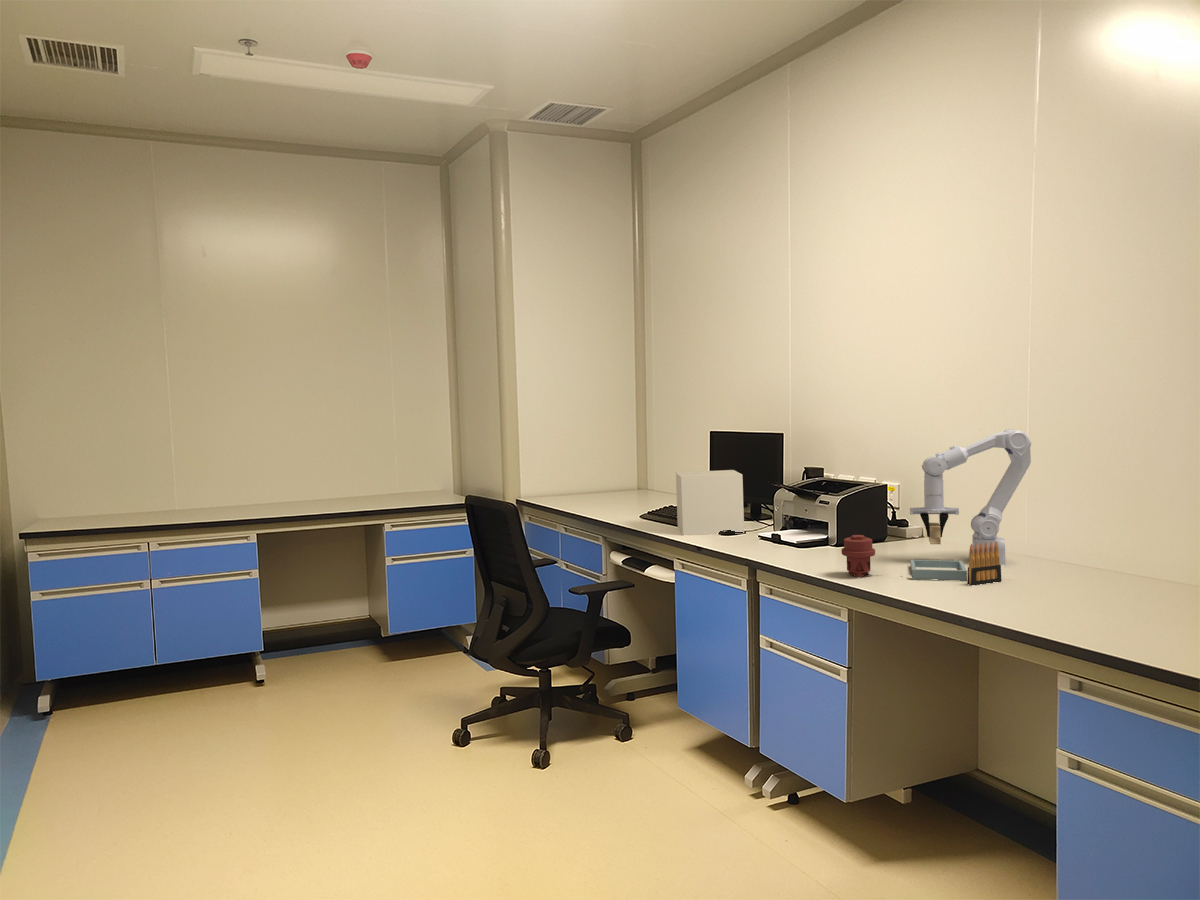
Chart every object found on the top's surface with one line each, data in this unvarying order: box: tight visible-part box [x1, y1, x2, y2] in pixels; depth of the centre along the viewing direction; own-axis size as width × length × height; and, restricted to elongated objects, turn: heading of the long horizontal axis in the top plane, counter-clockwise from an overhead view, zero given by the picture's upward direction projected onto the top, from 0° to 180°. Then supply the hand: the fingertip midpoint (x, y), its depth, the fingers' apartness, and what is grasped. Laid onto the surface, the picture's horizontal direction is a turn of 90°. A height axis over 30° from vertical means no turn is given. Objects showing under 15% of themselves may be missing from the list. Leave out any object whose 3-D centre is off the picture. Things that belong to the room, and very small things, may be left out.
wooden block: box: [928, 522, 942, 545], centre depth 274 cm, size 3×9×6 cm, turn 162°
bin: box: [910, 559, 968, 582], centre depth 261 cm, size 15×15×3 cm
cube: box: [675, 469, 745, 537], centre depth 360 cm, size 25×21×24 cm
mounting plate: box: [913, 558, 955, 561], centre depth 275 cm, size 12×10×1 cm
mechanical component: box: [840, 534, 876, 578], centre depth 265 cm, size 12×10×10 cm
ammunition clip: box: [966, 541, 1002, 586], centre depth 248 cm, size 11×2×12 cm, turn 108°
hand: (934, 536), depth 275 cm, fingers closed on wooden block, 3 cm apart
